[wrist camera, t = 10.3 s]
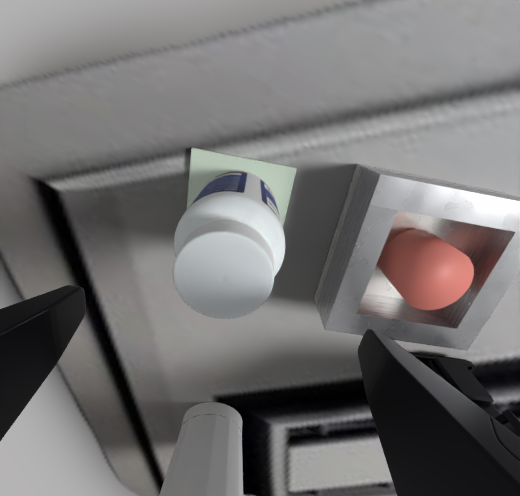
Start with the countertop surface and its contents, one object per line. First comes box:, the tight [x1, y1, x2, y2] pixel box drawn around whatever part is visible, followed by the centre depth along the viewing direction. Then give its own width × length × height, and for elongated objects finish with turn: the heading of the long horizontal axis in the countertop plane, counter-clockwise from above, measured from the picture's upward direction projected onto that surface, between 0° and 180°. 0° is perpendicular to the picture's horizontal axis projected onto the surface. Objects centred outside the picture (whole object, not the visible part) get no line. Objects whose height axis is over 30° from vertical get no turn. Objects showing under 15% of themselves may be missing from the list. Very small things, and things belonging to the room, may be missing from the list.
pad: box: [187, 148, 297, 227], centre depth 20 cm, size 7×7×1 cm
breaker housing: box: [314, 164, 520, 350], centre depth 20 cm, size 11×11×4 cm
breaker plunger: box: [380, 229, 474, 310], centre depth 19 cm, size 4×4×3 cm
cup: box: [160, 402, 243, 496], centre depth 25 cm, size 8×8×12 cm
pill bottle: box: [173, 170, 285, 319], centre depth 15 cm, size 5×5×10 cm
